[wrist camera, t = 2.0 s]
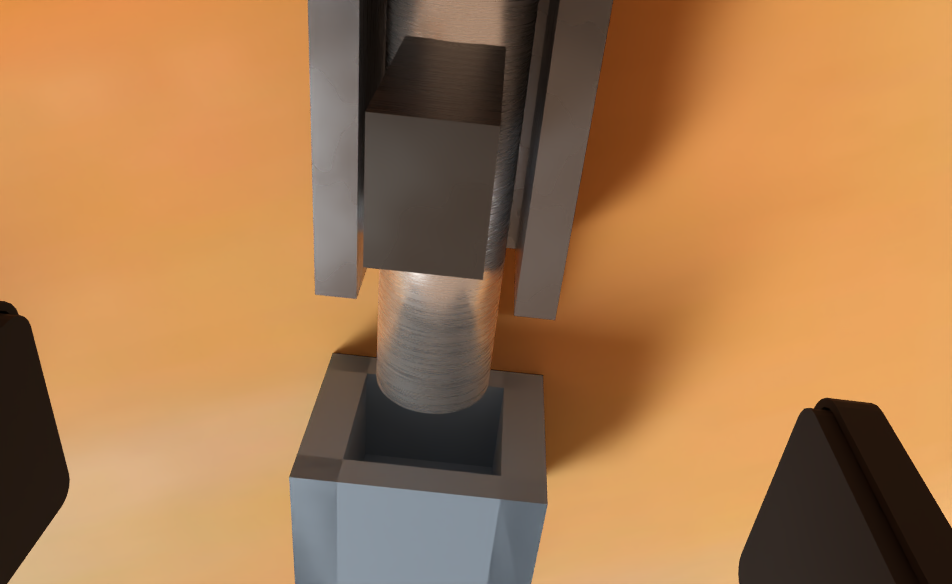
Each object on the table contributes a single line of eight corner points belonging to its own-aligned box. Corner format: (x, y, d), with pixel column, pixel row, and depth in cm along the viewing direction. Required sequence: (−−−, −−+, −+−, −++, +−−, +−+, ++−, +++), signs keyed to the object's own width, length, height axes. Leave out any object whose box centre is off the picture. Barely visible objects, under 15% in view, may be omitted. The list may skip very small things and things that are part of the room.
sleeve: (350, -195, 20) (302, -196, 16) (616, -165, 20) (641, -159, 16) (348, 216, 26) (315, 294, 22) (550, 238, 26) (554, 320, 22)
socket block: (332, 353, 29) (289, 477, 24) (542, 375, 29) (547, 504, 24) (333, 463, 33) (295, 595, 27) (523, 483, 33) (523, 619, 27)
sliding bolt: (401, -97, 20) (323, -40, 12) (546, -81, 20) (560, -13, 12) (385, 337, 27) (331, 542, 20) (490, 348, 27) (478, 558, 20)
